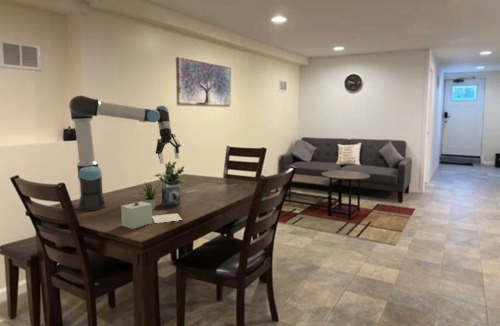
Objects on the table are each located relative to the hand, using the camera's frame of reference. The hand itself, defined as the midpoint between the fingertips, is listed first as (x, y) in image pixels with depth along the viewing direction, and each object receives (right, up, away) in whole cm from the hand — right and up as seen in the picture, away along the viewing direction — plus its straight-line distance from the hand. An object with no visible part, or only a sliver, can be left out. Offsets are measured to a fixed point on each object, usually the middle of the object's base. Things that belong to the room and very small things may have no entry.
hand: (169, 161), depth 233 cm
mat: (+8, -31, -41) cm, 52 cm away
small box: (+3, -27, -12) cm, 29 cm away
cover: (-5, -32, -51) cm, 60 cm away
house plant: (-8, -28, -22) cm, 36 cm away
